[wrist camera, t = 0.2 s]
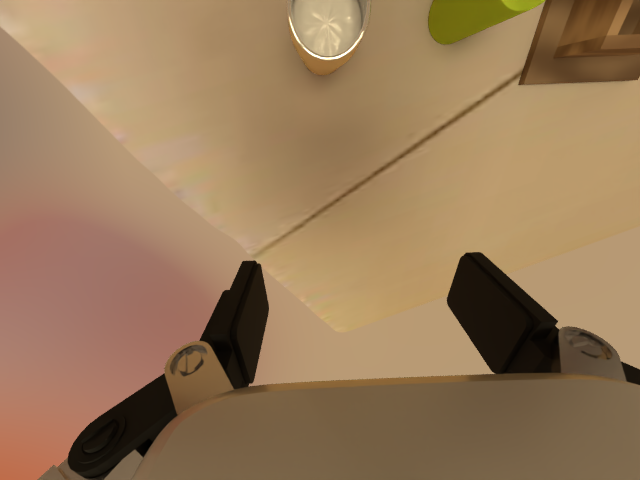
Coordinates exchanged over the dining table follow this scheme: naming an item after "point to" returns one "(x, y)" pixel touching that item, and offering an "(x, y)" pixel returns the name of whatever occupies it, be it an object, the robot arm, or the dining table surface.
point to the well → (585, 42)
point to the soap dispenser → (471, 16)
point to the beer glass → (327, 31)
